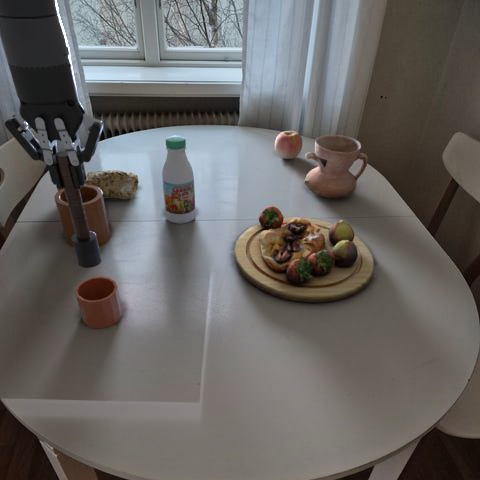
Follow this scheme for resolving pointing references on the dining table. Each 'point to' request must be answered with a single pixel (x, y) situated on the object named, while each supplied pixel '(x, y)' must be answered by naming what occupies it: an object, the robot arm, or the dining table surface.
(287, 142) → the apple
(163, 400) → the dining table surface
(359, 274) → the wooden plate
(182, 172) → the milk bottle
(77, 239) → the brush
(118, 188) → the seeded bread loaf
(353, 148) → the ceramic jug
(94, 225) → the jar
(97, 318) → the cup
